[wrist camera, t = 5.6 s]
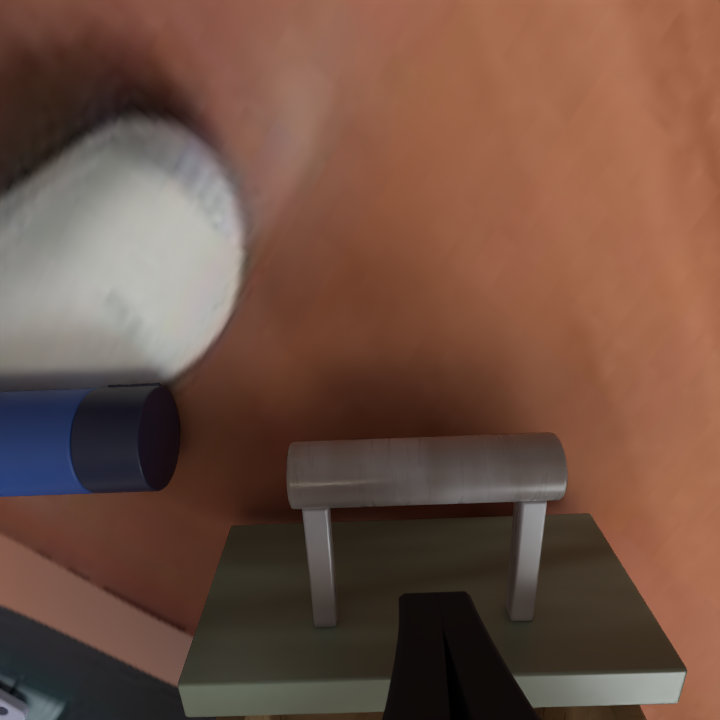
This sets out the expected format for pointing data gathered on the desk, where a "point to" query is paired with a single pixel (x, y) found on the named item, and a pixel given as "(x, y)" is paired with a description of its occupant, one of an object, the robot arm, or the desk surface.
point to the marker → (88, 440)
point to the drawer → (423, 587)
